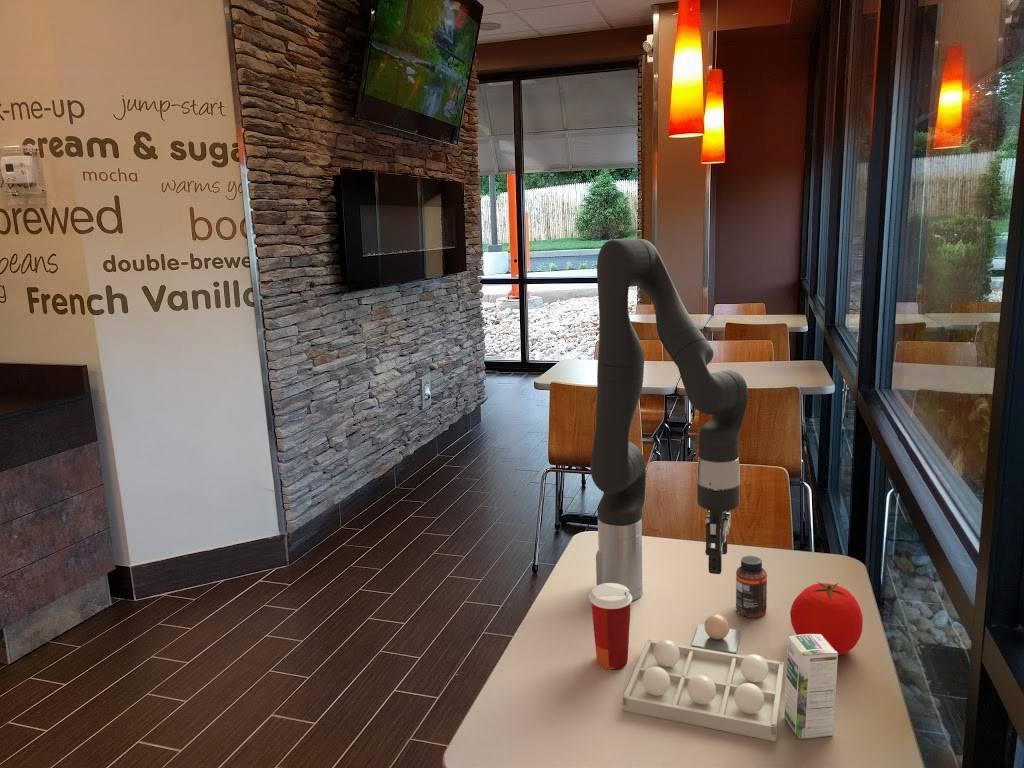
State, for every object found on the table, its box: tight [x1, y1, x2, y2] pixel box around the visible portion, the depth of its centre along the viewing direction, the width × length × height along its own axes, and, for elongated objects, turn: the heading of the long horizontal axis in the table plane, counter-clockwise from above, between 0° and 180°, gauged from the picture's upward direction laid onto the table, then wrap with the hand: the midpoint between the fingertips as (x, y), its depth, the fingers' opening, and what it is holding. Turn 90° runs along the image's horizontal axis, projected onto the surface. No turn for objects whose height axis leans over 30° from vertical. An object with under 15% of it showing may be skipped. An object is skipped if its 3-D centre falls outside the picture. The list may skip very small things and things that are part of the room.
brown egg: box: [703, 613, 730, 639], centre depth 146 cm, size 5×5×5 cm
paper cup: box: [588, 583, 633, 670], centre depth 140 cm, size 8×8×14 cm
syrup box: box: [783, 634, 839, 740], centre depth 120 cm, size 6×6×14 cm
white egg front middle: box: [687, 675, 716, 705], centre depth 127 cm, size 5×5×5 cm
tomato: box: [789, 581, 864, 656], centre depth 141 cm, size 12×12×13 cm
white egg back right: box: [740, 653, 769, 683], centre depth 132 cm, size 5×5×5 cm
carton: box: [622, 639, 785, 742], centre depth 131 cm, size 24×18×6 cm
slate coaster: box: [691, 623, 742, 654], centre depth 147 cm, size 8×8×1 cm
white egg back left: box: [654, 639, 680, 667], centre depth 137 cm, size 5×5×5 cm
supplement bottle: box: [735, 555, 768, 618], centre depth 155 cm, size 6×6×11 cm
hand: (718, 563), depth 143 cm, fingers open, 8 cm apart
